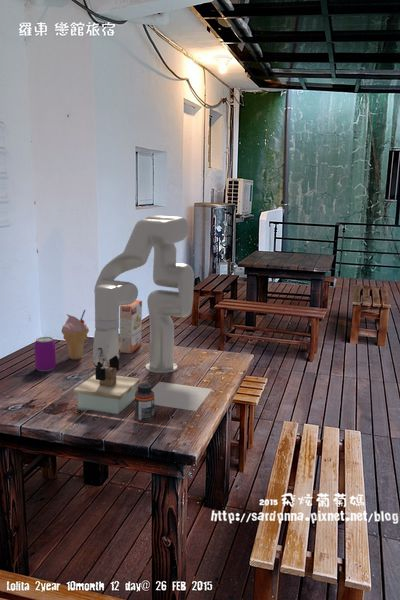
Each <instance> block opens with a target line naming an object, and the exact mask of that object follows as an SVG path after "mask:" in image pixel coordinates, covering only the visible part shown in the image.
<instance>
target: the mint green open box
mask: <svg viewBox="0 0 400 600" xmlns="http://www.w3.org/2000/svg"><path fill="white" fill-rule="evenodd" d="M136 391H137V386H135V387H134V388H133V389H132V390H131V391H130V392H128V393H127V394H126V395H125V396H124V397H123V398H121V399H120V400H119V399H112V398H105V397H99V396H92V395H85V394H78V393H77V410H78V411H83V412H84V411H85V412H86V410H88V411H93V412H98V413H99V412H101V413H107V414H111V415H112V414H113V415H119V414H120V413H121V412H123V411H124V410H125V409H126V408H127V407H128V406H129V405H130V404H132V403H133V402H135V393H136Z"/></svg>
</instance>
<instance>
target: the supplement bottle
mask: <svg viewBox="0 0 400 600" xmlns="http://www.w3.org/2000/svg"><path fill="white" fill-rule="evenodd" d="M134 419H135V420H136V422H138V423H140V424H148V423H149V422H153V420H154V419H155V405H154V392H153V391H152V384H151V383H147V382H142V383H141V382H140V383H139V384H138V385H137V390H136V393H135V400H134Z"/></svg>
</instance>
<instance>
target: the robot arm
mask: <svg viewBox="0 0 400 600" xmlns="http://www.w3.org/2000/svg"><path fill="white" fill-rule="evenodd" d="M189 228H190V225H189V222H188V220H187V219H186V218H184V217H182V216H169V215H150V216H147V217H145V218H144V219H140V220H138V221H137V222H136V224H135V225H134V227H133V229H132V231H131V233H130V236H129V239H128V241H127V243H126V245H125V248H124V250H123V252H122V253H120V254H118V255H117V256H115V257H114V258H113V259H112V260H110V261H109V262H108V263H107V264H106V265H104V267H103V268H102V269H101V271H100V273H99V275H98V277H97V280H96V283H95V285H94V327H95V328H94V329H95V330H94V334H93V346H92V348H93V349H92V357H93V358H92V362H93V365H94V369H95V374H96V380H103V381H104V380H105V379H106V374H105V368H104V367H106V362H108V361H109V364H108V365H109V366H108V367H112V368H116V372H118V371H119V370H120V353H121V352H120V345H121V343H120V306H121V305H129V304H132V303H133V302H134V301H135V300H138V299H137V298H138V296H139V290H138V287H137V285H135V284H134V283H132V282H130V281H122V280H115V279H116V278H117V277H119V276H120V275H121V274H123V273H126V272H129V271H132V270H134V269H137V268H141V267H143V266H144V265H145V264H146V263H147V262H148V259H149V256H150V254H151V252H152V249H153V267H152V268H153V271H152V280H153V284H155V285H156V286H159V287H164V288H174V289H177V290H178V291H173V290H165V289H156V290H153V291H151V292H150V293H149V294H148V296H147V300H146V301H147V309H148V316H149V363H146V364H145V370H147V372H151V373H155V374H169V373H172V372H173V373H174V372H176V371H177V370H178V365H177V364H176V363H175V362H174V361H175V352H174V351H175V350H174V349H175V323H174V321H173V318H172V317H176V318H187V317H189V316H190V315H191V313H192V310H193V304H194V289H195V272H194V270H193V267H192V266H191V265H190V264H187V263H182V262H177V247H176V245H175V244H176V243H180V242H181V241H184V240H185V239H186V238H187V236H188V234H189V230H190V229H189ZM101 362H102V363H101Z"/></svg>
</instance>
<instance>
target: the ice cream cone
mask: <svg viewBox="0 0 400 600" xmlns="http://www.w3.org/2000/svg"><path fill="white" fill-rule="evenodd" d="M85 313H86V309H84V310H83V311H82V315H81V317H80V319H79V318H78V317H76V316H75V315H74V316H73V315H71V314H68V313H67V314H66V316H67V317H68V318H67V319H66V321H65V323H64V325H63V326H62V328H61V333H62V335H63V339H64V341H65V342H66V344H67V350H68V351H67V352H68V356H69V358H70V359H71V360H81V359H82V357H83V353H84V344H85V340H86V339H87V338H88V333H89V332H90V329H89V327H88V326H87V324H86V323H85V320H84V319H83V318H84V317H85Z"/></svg>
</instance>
